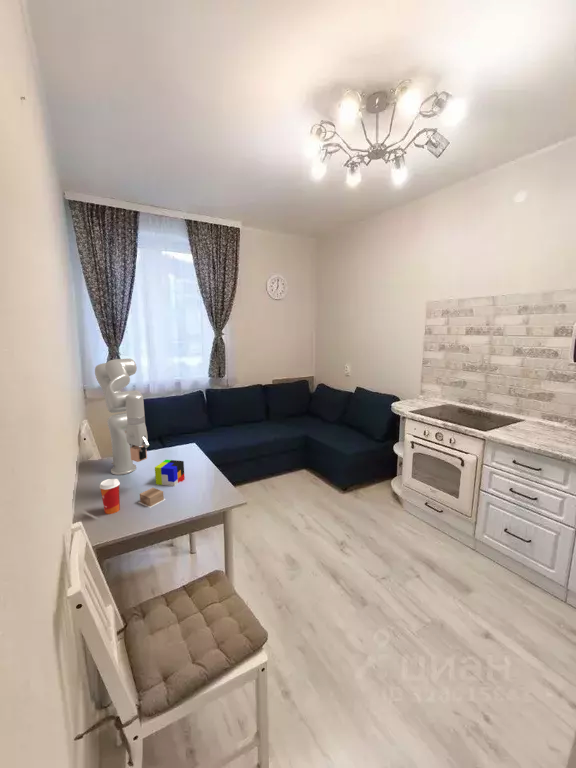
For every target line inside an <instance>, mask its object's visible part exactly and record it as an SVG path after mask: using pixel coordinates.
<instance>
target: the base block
mask: <svg viewBox="0 0 576 768" xmlns="http://www.w3.org/2000/svg"><path fill="white" fill-rule="evenodd" d="M164 499H165V497H164V491H163V490H161V489H158V488H155V487H151V488H149V489H147V490H145V491H143V492H141V493H139V502H141V503H143V504H146V505H148V506H153V505H154V504H156V503H158V502H160V501H162V500H164ZM164 501H165V500H164ZM162 502H163V501H162ZM160 503H161V502H160ZM158 504H159V503H158ZM156 505H157V504H156ZM153 507H154V506H153Z"/></svg>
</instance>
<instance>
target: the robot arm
mask: <svg viewBox="0 0 576 768" xmlns="http://www.w3.org/2000/svg"><path fill="white" fill-rule="evenodd" d="M136 373H137V364H136V362H135V361H134V360H133V359H132V358H115V359H110V360H109V361H107V362H104V363H100V364H97V365H96V366H95V367H94V375H95V378H96V381H97V383H98V384H99V387H100V388H101V389H102V392H103V397H104V400H105V404H106V408H107V411H108V412H109V413H113V414H112V415H110V416H109V417H108V419H107V421H106V422H107V427H108V430H109V435H110V441H111V451H112V452H111V453H112V460H113V461H111V465H113V467H112V468H111V469H110V472H111V474H113V475H117V476H118V475H120V476H121V475H122V476H123V475H127V474H130V473H132V472H134V471H135V470H137V465H136V464H135V463H134V461H133V460H131V452H130V448H131V447H134V446H139V449H140V452H139V457H140V460H142V459H144V458H146V450H147V449H148V447H150V444H149V441H148V431H147V426H146V416H145V404H144V403H145V402H144V396H143V394H142V392H141V391H140V390H135V389H134V390H127V391H121V390H122V389H124V388H126V387H127V386H128V385H129V384H130V382H131V378H130V376H133V375H135V374H136ZM123 412H124V413H123ZM114 413H115V414H114ZM141 446H143V447H141ZM142 461H143V460H142Z"/></svg>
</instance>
